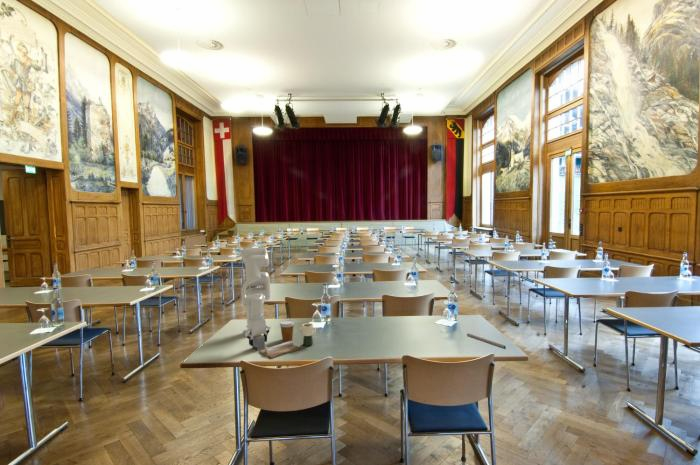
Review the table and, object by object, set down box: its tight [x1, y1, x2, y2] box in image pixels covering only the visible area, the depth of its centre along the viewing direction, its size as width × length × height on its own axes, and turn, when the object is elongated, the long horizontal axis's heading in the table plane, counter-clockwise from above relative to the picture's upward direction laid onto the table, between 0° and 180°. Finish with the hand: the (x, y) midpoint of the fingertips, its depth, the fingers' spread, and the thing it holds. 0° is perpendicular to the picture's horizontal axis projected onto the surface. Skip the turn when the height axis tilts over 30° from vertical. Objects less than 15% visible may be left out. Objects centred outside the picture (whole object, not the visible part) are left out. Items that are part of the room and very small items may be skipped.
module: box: [251, 334, 266, 352], centre depth 227 cm, size 7×5×8 cm
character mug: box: [298, 322, 317, 347], centre depth 232 cm, size 11×7×13 cm, turn 82°
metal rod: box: [466, 332, 507, 349], centre depth 232 cm, size 2×27×2 cm, turn 33°
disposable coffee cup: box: [279, 319, 295, 342], centre depth 241 cm, size 10×10×12 cm
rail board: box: [258, 340, 300, 360], centre depth 223 cm, size 14×20×3 cm
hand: (258, 343), depth 227 cm, fingers open, 9 cm apart
